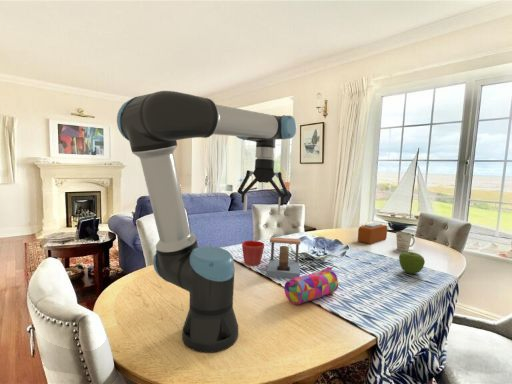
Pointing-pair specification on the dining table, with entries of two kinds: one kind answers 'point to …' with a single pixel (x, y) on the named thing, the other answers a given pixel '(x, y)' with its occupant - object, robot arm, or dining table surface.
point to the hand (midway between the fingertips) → (261, 212)
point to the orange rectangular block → (372, 233)
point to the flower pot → (252, 252)
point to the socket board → (292, 265)
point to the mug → (404, 241)
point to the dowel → (283, 258)
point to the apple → (411, 262)
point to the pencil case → (311, 286)
